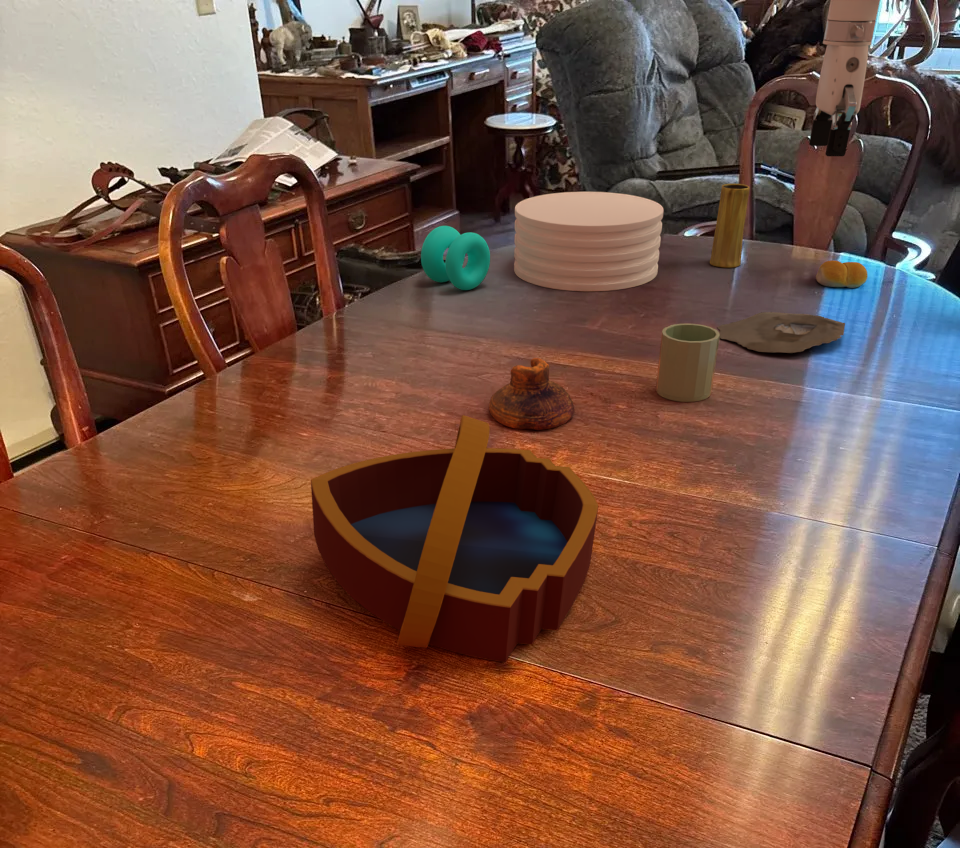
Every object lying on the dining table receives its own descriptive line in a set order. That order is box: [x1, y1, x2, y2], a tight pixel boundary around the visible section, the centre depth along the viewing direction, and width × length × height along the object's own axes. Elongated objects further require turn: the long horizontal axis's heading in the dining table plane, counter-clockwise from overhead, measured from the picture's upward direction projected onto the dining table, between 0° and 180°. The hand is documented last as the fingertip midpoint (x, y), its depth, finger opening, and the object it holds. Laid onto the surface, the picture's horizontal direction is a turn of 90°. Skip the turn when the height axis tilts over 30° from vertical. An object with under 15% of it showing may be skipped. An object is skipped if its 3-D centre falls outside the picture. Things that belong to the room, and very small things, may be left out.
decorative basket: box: [310, 414, 599, 663], centre depth 95 cm, size 34×29×15 cm
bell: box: [488, 357, 575, 431], centre depth 129 cm, size 12×12×7 cm
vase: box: [709, 183, 751, 269], centre depth 185 cm, size 6×6×14 cm
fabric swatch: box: [717, 311, 846, 354], centre depth 155 cm, size 19×22×2 cm
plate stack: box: [513, 191, 664, 292], centre depth 184 cm, size 28×28×12 cm
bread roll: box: [815, 260, 869, 289], centre depth 178 cm, size 8×9×4 cm
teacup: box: [655, 323, 721, 403], centre depth 135 cm, size 8×8×8 cm
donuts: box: [420, 225, 491, 291], centre depth 177 cm, size 10×10×10 cm
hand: (826, 150), depth 165 cm, fingers open, 9 cm apart
